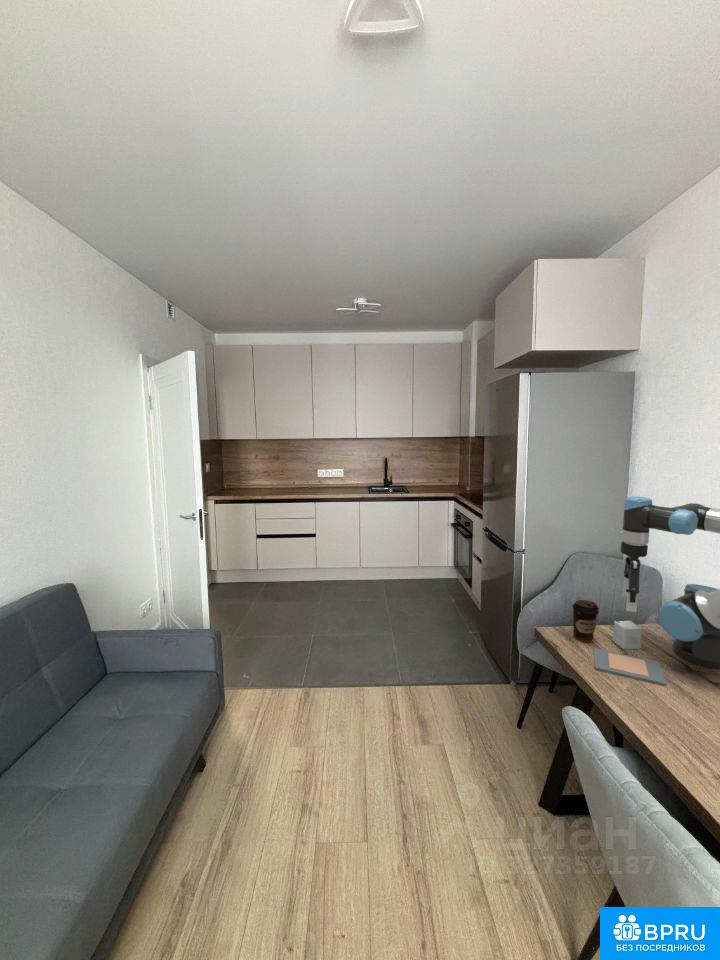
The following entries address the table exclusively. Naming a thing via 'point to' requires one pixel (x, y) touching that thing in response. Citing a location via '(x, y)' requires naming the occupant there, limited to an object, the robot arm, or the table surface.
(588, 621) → the coffee cup
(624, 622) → the skincare box
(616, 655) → the card
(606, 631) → the table surface
